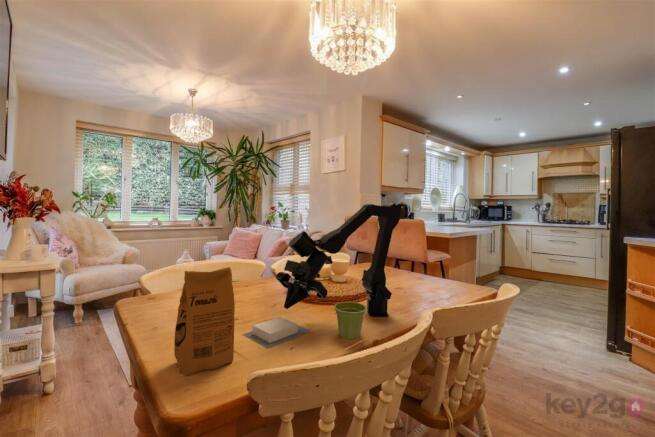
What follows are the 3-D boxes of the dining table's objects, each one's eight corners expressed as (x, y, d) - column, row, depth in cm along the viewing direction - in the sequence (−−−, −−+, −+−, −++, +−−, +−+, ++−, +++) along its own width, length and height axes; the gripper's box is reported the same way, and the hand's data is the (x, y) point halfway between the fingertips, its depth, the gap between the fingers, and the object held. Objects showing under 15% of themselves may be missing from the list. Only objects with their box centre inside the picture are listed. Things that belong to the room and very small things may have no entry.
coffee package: (171, 360, 71) (173, 267, 70) (225, 347, 78) (226, 263, 78) (178, 380, 63) (180, 276, 62) (237, 364, 70) (239, 270, 69)
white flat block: (280, 316, 93) (252, 325, 86) (297, 323, 88) (270, 333, 81) (280, 325, 93) (252, 334, 86) (297, 332, 88) (269, 343, 81)
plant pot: (356, 346, 82) (357, 314, 81) (327, 337, 87) (328, 307, 86) (370, 334, 89) (371, 305, 89) (343, 327, 94) (344, 299, 94)
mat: (285, 321, 98) (285, 320, 98) (311, 332, 90) (311, 331, 90) (242, 335, 86) (242, 334, 86) (267, 349, 78) (267, 348, 78)
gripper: (280, 247, 99) (251, 286, 91) (322, 254, 87) (292, 300, 79) (297, 268, 105) (271, 306, 97) (338, 277, 93) (312, 322, 85)
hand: (285, 308), depth 89 cm, fingers closed
